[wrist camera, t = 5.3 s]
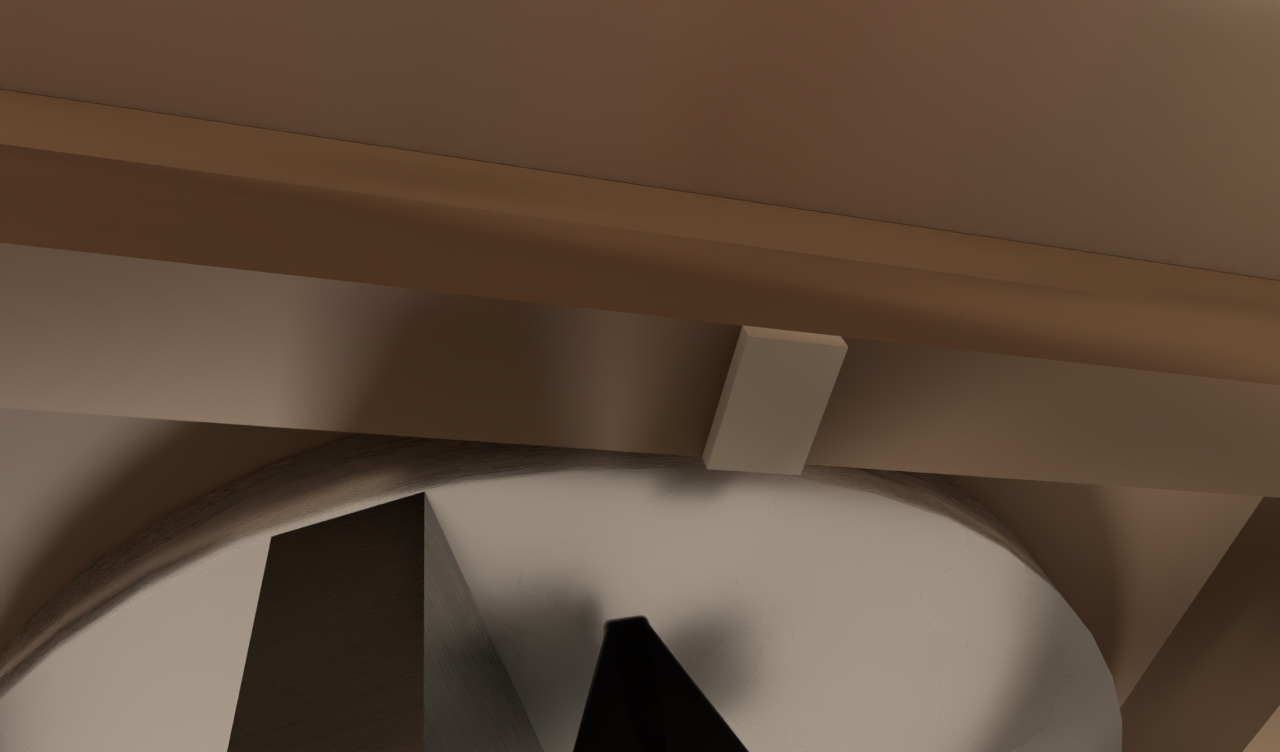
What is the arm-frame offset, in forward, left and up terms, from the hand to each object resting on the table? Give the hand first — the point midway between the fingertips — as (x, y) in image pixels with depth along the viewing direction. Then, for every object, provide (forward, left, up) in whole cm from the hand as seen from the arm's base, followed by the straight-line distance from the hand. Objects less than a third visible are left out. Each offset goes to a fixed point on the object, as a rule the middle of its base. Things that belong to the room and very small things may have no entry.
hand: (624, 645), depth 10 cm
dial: (-8, -1, -3) cm, 8 cm away
